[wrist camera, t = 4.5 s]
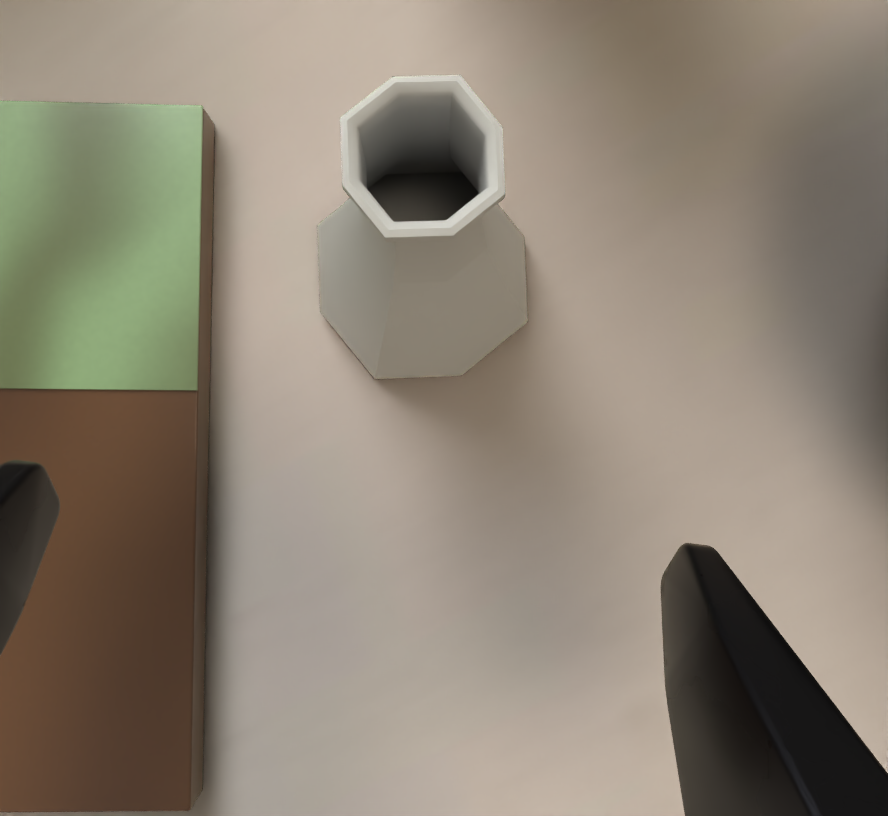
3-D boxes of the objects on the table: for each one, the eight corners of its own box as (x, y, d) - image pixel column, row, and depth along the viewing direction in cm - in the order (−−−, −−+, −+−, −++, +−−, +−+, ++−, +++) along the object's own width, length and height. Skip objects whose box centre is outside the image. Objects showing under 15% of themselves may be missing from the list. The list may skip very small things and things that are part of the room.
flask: (560, 338, 22) (671, 269, 12) (359, 414, 22) (307, 405, 12) (485, 139, 23) (534, -89, 13) (283, 211, 22) (170, 38, 12)
